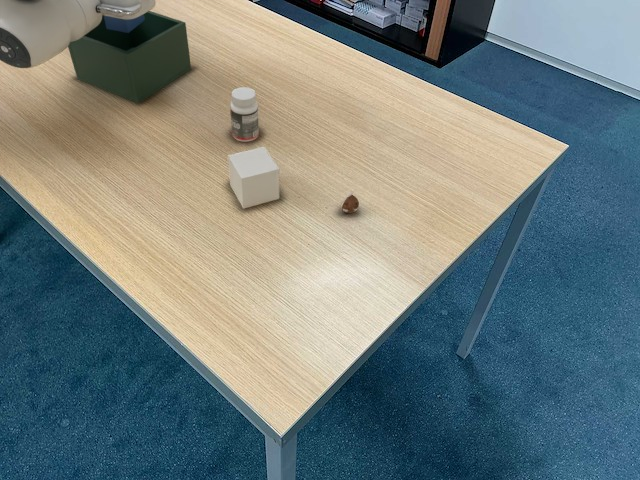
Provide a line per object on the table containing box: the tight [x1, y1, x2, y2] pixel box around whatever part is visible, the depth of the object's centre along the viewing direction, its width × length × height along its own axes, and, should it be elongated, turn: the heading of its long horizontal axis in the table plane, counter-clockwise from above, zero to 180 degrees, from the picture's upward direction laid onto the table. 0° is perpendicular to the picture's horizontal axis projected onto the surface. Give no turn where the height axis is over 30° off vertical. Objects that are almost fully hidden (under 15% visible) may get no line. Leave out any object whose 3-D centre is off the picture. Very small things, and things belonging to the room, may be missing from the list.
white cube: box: [227, 146, 280, 210], centre depth 84 cm, size 6×6×6 cm
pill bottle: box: [229, 86, 260, 143], centre depth 94 cm, size 5×5×8 cm
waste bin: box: [67, 10, 192, 104], centre depth 106 cm, size 16×16×10 cm
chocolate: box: [340, 189, 360, 214], centre depth 83 cm, size 3×2×4 cm
